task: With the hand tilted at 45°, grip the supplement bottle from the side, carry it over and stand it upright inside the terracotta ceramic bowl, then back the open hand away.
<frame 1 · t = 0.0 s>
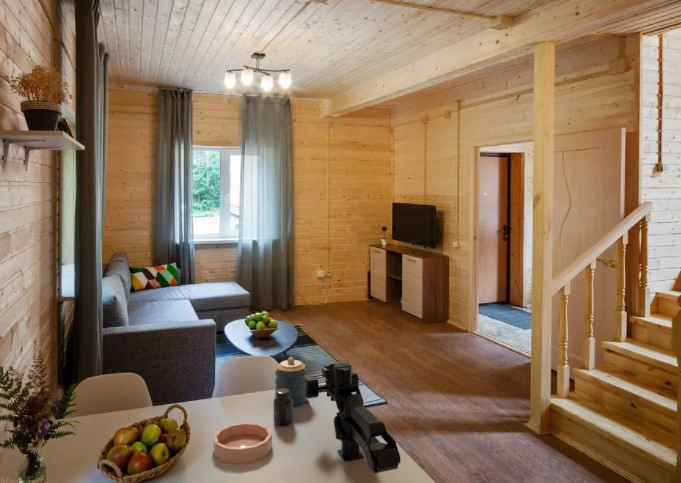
hand: (324, 377, 190), 17 cm above the table, tool horizontal, fingers open, 9 cm apart
supplement bottle: (283, 423, 191), on the table
canister: (291, 401, 211), on the table
terracotta bowl: (242, 448, 172), on the table
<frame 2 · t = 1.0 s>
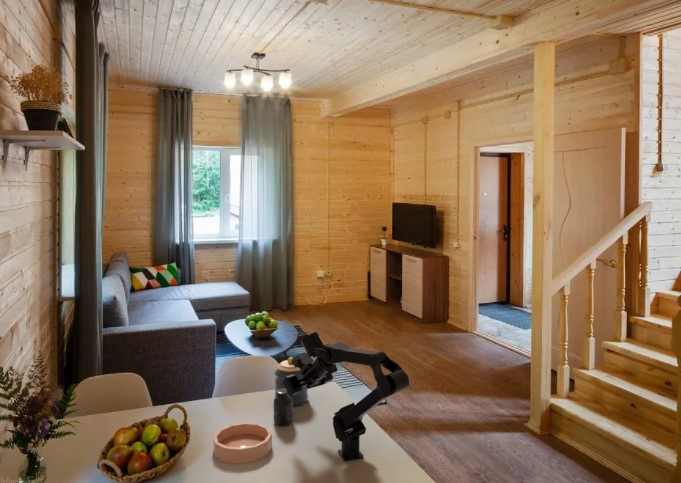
hand: (297, 391, 185), 14 cm above the table, tool tilted 45°, fingers open, 9 cm apart
nothing on the table moved.
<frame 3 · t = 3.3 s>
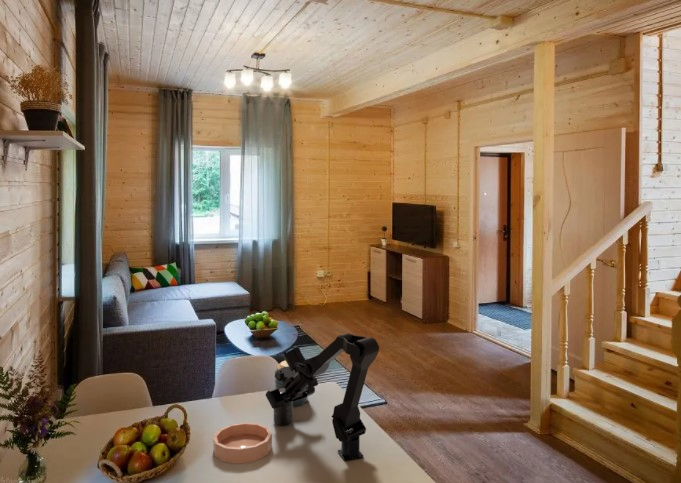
hand: (280, 403, 192), 7 cm above the table, tool tilted 45°, fingers closed on supplement bottle, 7 cm apart
supplement bottle: (283, 423, 191), on the table, touching gripper
everything else where it was.
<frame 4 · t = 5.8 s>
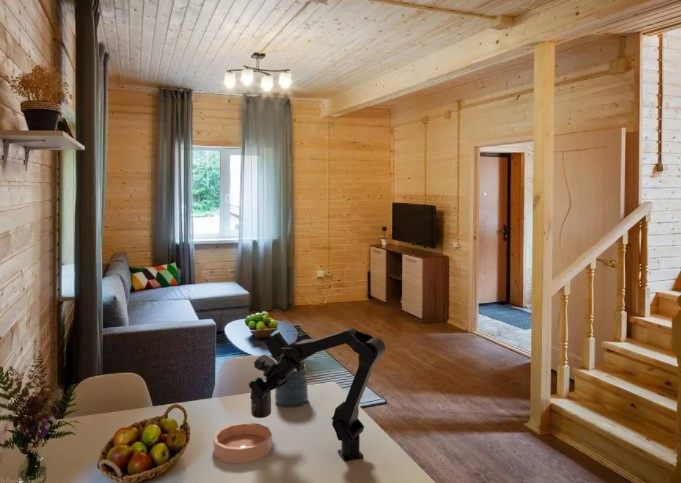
hand: (257, 394, 182), 13 cm above the table, tool tilted 45°, fingers closed on supplement bottle, 7 cm apart
supplement bottle: (261, 414, 183), point 6 cm above the table, touching gripper
everything else where it was.
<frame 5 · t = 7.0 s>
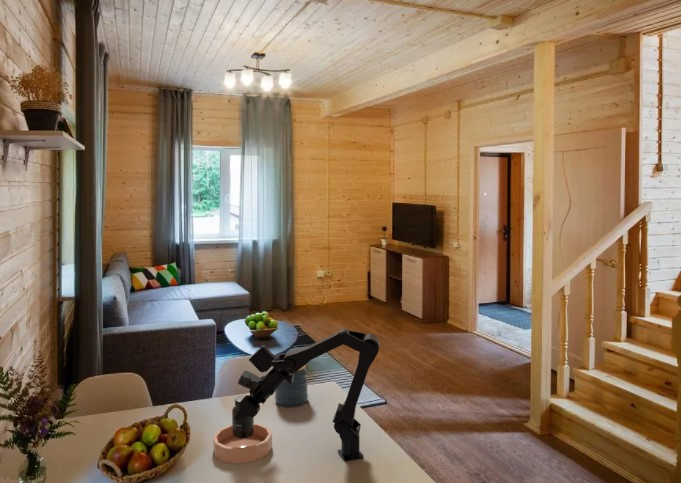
hand: (238, 414, 171), 11 cm above the table, tool tilted 45°, fingers closed on supplement bottle, 7 cm apart
supplement bottle: (243, 434, 172), point 5 cm above the table, touching gripper
everything else where it was.
when the fingers open (9 cm above the table, at t = 8.1 s): supplement bottle stays where it is, resting on terracotta bowl.
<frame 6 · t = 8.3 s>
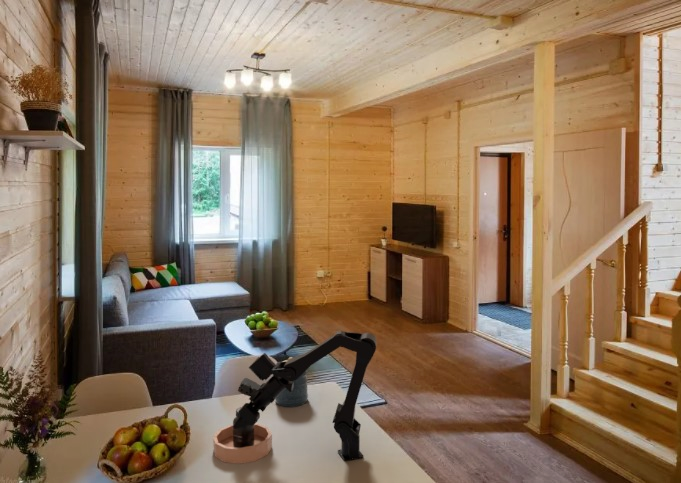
hand: (238, 421, 172), 9 cm above the table, tool tilted 45°, fingers open, 9 cm apart
supplement bottle: (243, 445, 173), point 1 cm above the table, touching terracotta bowl
everything else where it was.
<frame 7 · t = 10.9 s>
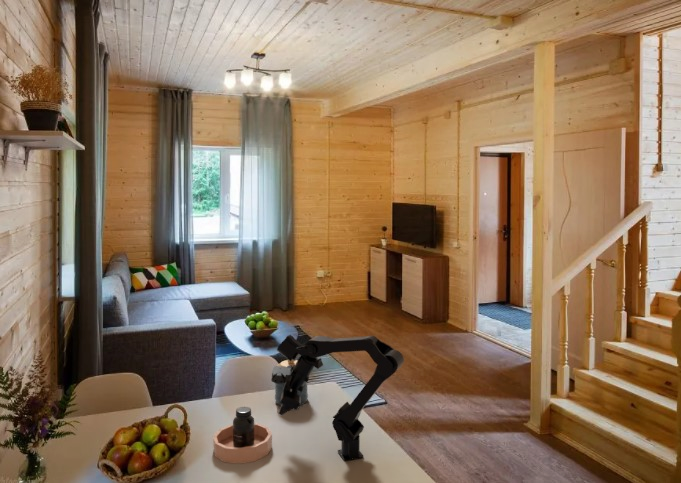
hand: (281, 405, 177), 12 cm above the table, tool tilted 30°, fingers open, 9 cm apart
nothing on the table moved.
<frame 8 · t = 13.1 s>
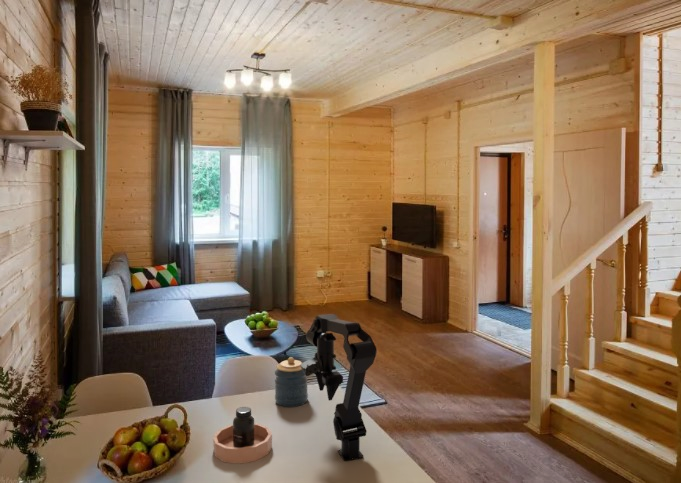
hand: (325, 395, 183), 13 cm above the table, tool pointing down, fingers open, 9 cm apart
nothing on the table moved.
at the end: supplement bottle inside the target area on the terracotta bowl (0.4 cm from its centre), point 0.8 cm above the terracotta bowl's base; supplement bottle tilted 0°; the gripper is holding nothing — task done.
